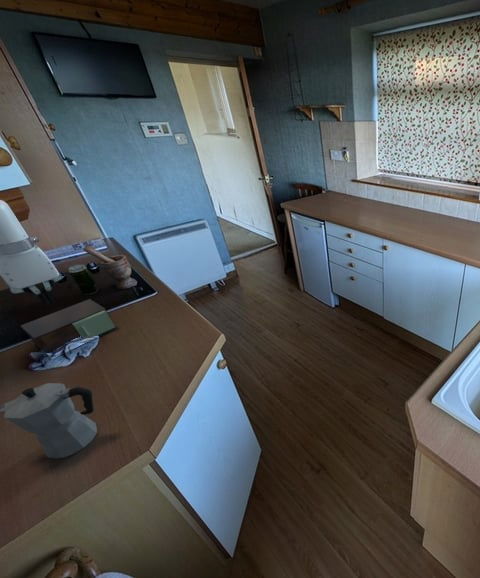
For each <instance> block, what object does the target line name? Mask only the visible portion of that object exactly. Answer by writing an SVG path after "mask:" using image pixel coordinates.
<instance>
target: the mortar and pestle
mask: <svg viewBox="0 0 480 578" xmlns="http://www.w3.org/2000/svg"><path fill="white" fill-rule="evenodd" d="M82 250H83V251H84V252H85V253H87V254H89V255H90V256H93V257H95V258H97V259H99V260H100V261H99V263H100V265H101V266H102V268H103V269H104V271H105V273H106V274H107V275H108V276H109V277H110V278H111V279H114V280H116V281H117V282H116V284H115V285H116V289H118V290H126V289H130V288H132V287H135V286H137V284H138V281H137V279H135V278H132V277H131V275H132V267H131V264H130V262H129V261H128V258H127V256H126V255H125V254H120V255H119V254H117V255H111V256H106V255H104V254H102V253H101V252H100V251H99V250H97V249H95V248H94V247H93V246H90V245H86V246H85V247H83V248H82Z"/></svg>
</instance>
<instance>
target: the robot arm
mask: <svg viewBox="0 0 480 578" xmlns="http://www.w3.org/2000/svg"><path fill="white" fill-rule="evenodd" d="M38 242H40V240H39V238H38V237H37V236H34V237H33V236H32V237H31V236H29V235H28V234H27V232H26V231H25V229H24V227H23V226H22V224H21V223H20V220H18V218H17V217H16V215H15V213H14V211H13V210H12V208H11V207H10V205H9V204H8V203H7V202H6V201H4V200H3V199H0V277H1V279H2V280H3V282H4V283H5V284H6V285H7V286H8V288H9V291H10V292H11V294H21V293H29V294H34V295H35V296H36V297H37V299H38V300H39V302H41V303H42V304H43V303H45V304H46V305H48V306H49V305H51V304H54V303H56V301H55V300H54V299H56V296H55V295H54V292H52V288H53V286H54V284H55V283H56V282H59V281H61V280H62V279H63V276H62V275H61V274H60V273H59V271H58V269H57V267H56V266H55V265H54V263H53V262H52V261H51V259H50V258H49V257H48V255H47V254H46V253H45V252H44V251H43V250H42V249H41V248H40V246H38V245H36V244H35V243H38ZM37 284H40V285H41V289H39V288H38V287H37V286H35V285H37Z"/></svg>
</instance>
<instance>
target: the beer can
mask: <svg viewBox="0 0 480 578" xmlns="http://www.w3.org/2000/svg"><path fill="white" fill-rule="evenodd" d="M68 273H69V275H70V276H71V277H72V279H73V281H74V282H75V284H76V286H77V288H78V289H79V290H80V293H82V294H83V295H84V296H91V295H94V294H96V293H98V292H99V291H100V289H99V286H98V284H97V282H96V281H95V279H94V278H93V275H92V274H91V272H90V270H89V269H88V268H87V266H86V265H85V264H76V265H72V266H70V267H69V268H68Z"/></svg>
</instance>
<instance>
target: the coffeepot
mask: <svg viewBox="0 0 480 578" xmlns="http://www.w3.org/2000/svg"><path fill="white" fill-rule="evenodd" d="M76 396H81V400H82V402H83V407H84V409H85V410H83V411H79V410H75V404H74V402H73V401H72V398H73V397H76ZM94 411H95V409H94V400H93V392H92V390H90V389H89V388H85V387H81V386H76V387H68V388H66V386H65V383H58V382H46V383H44V384H42V385H39V386H36V387H34V388H33V387H29V388H26V389H24V390H22V392H21V394H20V395H18V396H17V397H16V398H15V399H13V400H10V401H8V402H5V403H3V404H2V405H0V413H2V414H4V415H3V418H4V419H5V420H7V421H9V422H10V423H12V424H14V425H15V426H17V427H19V428H21V429H23V430H25V431H26V432H28V433H30V434H36V437H37V440H38V442H39V444H40V446H41V448H42V450H43V452H44V454H45V455H46V457H47V458H48V459H56V460H57V459H64V458H68V457H70V456H73V455H75V454H76V453H78V452H79V451H81V450H83V449H84V448H85V447H87V446H88V445H89V444H90V443H91V442H92V441H93V440H94V439H95V437H96V435H98V427H97V422H95V421H93V420H92V419H90V418H89V417H87V415H89V414H93V412H94Z"/></svg>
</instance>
